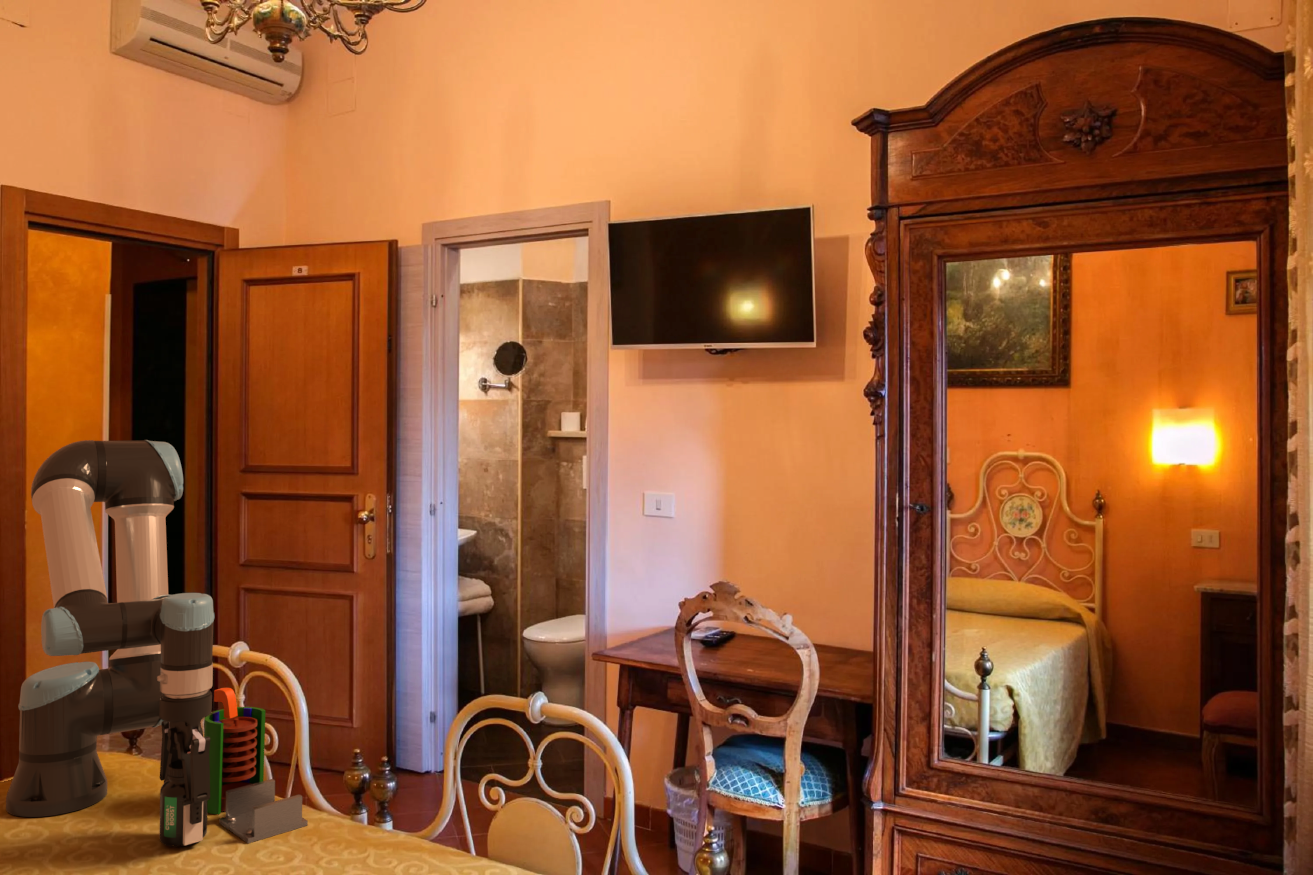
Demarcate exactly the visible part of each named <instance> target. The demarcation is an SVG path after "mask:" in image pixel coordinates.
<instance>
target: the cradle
mask: <svg viewBox="0 0 1313 875" xmlns="http://www.w3.org/2000/svg"><path fill="white" fill-rule="evenodd" d="M275 799H276V780H275V779H273V778H271V779H266V780H263V781H262V782H258V783H255V784H251V785H247V786H243V787H239V788H235V789H232V790H228V791H226V812H225V816H224V817H221V818H219V825H221V826H222V827H223V828H225V827H226V828H225V829H227V830H228V829H229V830H230V831H229V830H228V831H229V832H231V833H232V832H233V833H232V834H234V835H235V836H236V837H238V838H239V837H240V838H239V839H240V840H242V841H243V842H244V843H247V844H251V842H252V843H255V842H258V841H261V840H264V839H268V838H271V837H274V836H278V835H280V834H283V833H287V832H291V831H294V830H297V829H300V828H303V827H304V828H305V827H307V826H308V819H306V818H304V817H303V795H301V794H296V795H292V796H288V797H285V798H282V799H279V800H275ZM257 840H258V841H257ZM254 841H255V842H254Z"/></svg>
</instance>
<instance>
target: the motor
mask: <svg viewBox="0 0 1313 875" xmlns="http://www.w3.org/2000/svg"><path fill="white" fill-rule="evenodd" d="M213 692H214V693H213V695H214V696H213V702H214V703H215V702H216V703H217V702H218V703H219V702H220V703H221V704H222V705H223V708H222V709H218V710H214V711H211V713H210V714H209V715H208V716H207V717H204V723H203V724H204V726H203V737H207V736H209V737H210V749H209V766H210V799H209V800H208V807H207V814H210V815H217V814H218V815H220V814H221V813H222V812H221V811H224V812H223V813H226V791H228V790H232V789H235V788H239V787H243V786H247V785H251V784H255V783H258V782H262V781H264V775H265V774H264V771H265V742H266V741H265V740H266V739H265V737H266V709H264V708H260V707H255V706H238V704H237V697H236V694H235V691H234V689H232V688H231V687H221V688H218V689H214V691H213Z"/></svg>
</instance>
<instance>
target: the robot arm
mask: <svg viewBox="0 0 1313 875" xmlns="http://www.w3.org/2000/svg"><path fill="white" fill-rule="evenodd" d="M183 492H184V474H183V468H182V464H181V460H180V457H179V454H178V452H177V450H176V449H175V447H174V446H173V445H172V444H170V443H169V442H166V441H156V440H154V441H153V440H148V439H144V440H94V439H92V440H91V439H89V440H88V439H87V440H86V439H85V440H79V441H75V442H71V443H68V444H66V445H64V446H62V447H60V448H59V449H57V450H56V451H54V452H53V453H51V454H50V455H49V456H48V457H47V458H46V459H45V460H44V461H43V463H41V465H40V467H39V468H38V469H37V471H36V473H35V475H34V477H33V480H32V482H31V486H30V497H31V503H32V507H33V509H34V511H35V512H36V513H37V514H38V515H40V517H41V519H40V520H41V524H42V526H41V527H42V533H43V541H44V548H45V553H46V554H45V555H46V562H47V567H48V574H49V582H50V583H49V584H50V590H51V598H52V603H53V604H52V605H53V608H48V609H46V610H45V611H43V613H42V616H41V626H40V627H41V628H40V630H41V631H40V632H41V633H40V634H41V645H42V650H43V652H44V654H45V655H47V656H50V657H61V656H79V655H81V654H91V653H98V652H105V651H114V650H115V651H114V652H113V654H111V655H110V657H109V658H108V661H109V662H108V664H109V666H108V668H102V669H100V668H99V666H98V664H97V663H96V662H94V661H81V662H78V661H76V662H70V663H64V664H59V665H56V666H52V667H49V668H45V669H43V670H40V671H37V672H36V673H33V674H32V675H30V676H28V677H27V678H25V680H24V681H23V682H22V684H21V687H20V696H19V703H18V710H19V737H18V738H19V743H18V752H19V753H18V764H17V767H16V770H15V772H14V775H13V778H12V780H11V784H10V786H9V788H8V791H7V793H6V798H5V810H6V812H7V813H9V814H10V815H13V816H16V817H22V818H23V817H24V818H25V817H26V818H40V817H50V816H58V815H63V814H67V813H71V812H75V811H79V810H82V809H85V808H88V807H90V806H92V805H95V804H97V803H98V802H100V801H102V800H103V799H104V798H106V796H107V794H108V779H107V776H106V773H105V770H104V767H103V766H102V763H101V760H100V757H99V755H98V750H97V747H98V746H97V740H98V737H100V736H103V735H110V734H111V735H112V734H117V733H124V732H131V731H135V730H141V729H142V730H143V729H149V728H157V727H159V726H161V746H160V747H161V750H160V751H161V752H160V763H159V764H160V765H159V766H160V768H159V780H160V781H163V784H164V783H165V782H166V781H167V780H169V779H168V778H167V773H168V765H169V764H170V763H172V762H174V761H177V760H181V761H182V765H183V774H184V783H185V791H186V801H184V802H182V805H183V806H184V810H183V845H185V846H189V845H192V843H193V844H195V843H198V842H201V841H203V839H204V838H203V801H206V800H209V799H210V766H209V749H210V737H209V736H207V737H204V729H203V727H202V722H201V721H202V720H203V719H205V717H207V716H208V715H209V714H210V713H211V712H213V711H212V708H213V706H212V704H213V703H212V702H213V700H212V699H213V692H212V691H211V690H210V689H212V687H213V680H214V679H213V676H214V674H213V673H214V672H213V671H214V669H213V668H214V663H213V653H214V652H213V648H214V645H213V644H214V638H213V637H214V620H215V612H214V600H213V598H212V596H211V595H210V594H207V593H201V592H182V593H175V594H169V577H168V576H169V575H168V574H169V573H168V550H167V547H168V546H167V525H166V522H167V521H166V517H167V516H168V515H169V514H170V513H172V511H173V510H174V508H175V504H174V503H175V502H176V501H177V500H180V499H181V498H182V496H183ZM94 503H104V506H105V507H104V508H105V509H104V510H105V511H104V512H105V513H106V514H107V515H108V516H109V517H111V519H113V521H114V534H115V535H114V536H115V537H114V538H115V541H114V542H115V571H116V572H115V573H116V574H115V575H116V602H108V594H107V589H106V584H105V583H106V582H105V578H104V572H103V568H102V562H101V557H100V552H99V551H100V550H99V548H98V542H97V536H96V531H95V525H94V520H93V515H92V510H91V509H92V508H91V507H92V506H93V505H94ZM188 844H189V845H188Z"/></svg>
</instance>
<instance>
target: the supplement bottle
mask: <svg viewBox="0 0 1313 875" xmlns="http://www.w3.org/2000/svg"><path fill="white" fill-rule="evenodd" d="M167 778H168V779H169V780H167V781H166V782H165V783H164V782H163V784H162V786H161V787H160V791H159V792H160V793H159V841H160V843H161V844H162V845H164V846H168V847H184V846H186V845H183V810H184V806H183V805H182V802H184V801H186V791H185V783H184V774H183V765H182V761H181V760H177V761H174V762H172V763H170V764H169V765H168V773H167ZM207 807H208V800H206V801H203V839H204V838H205V837H206V835H207V833H208V813H207ZM192 844H194V843H192ZM192 844H191V845H192ZM189 845H190V844H188V845H187V846H189Z"/></svg>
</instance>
